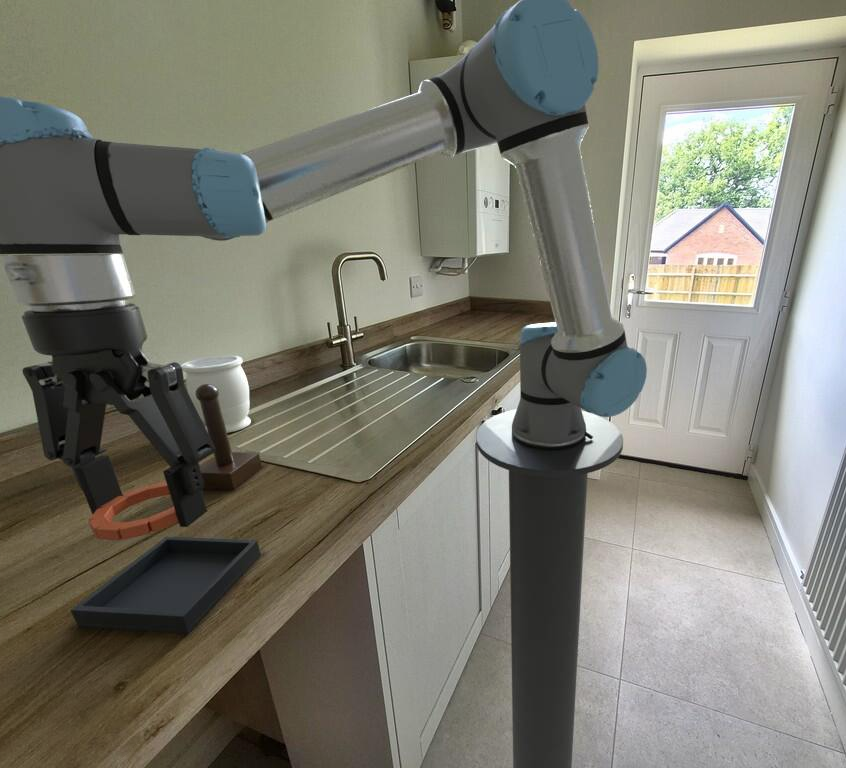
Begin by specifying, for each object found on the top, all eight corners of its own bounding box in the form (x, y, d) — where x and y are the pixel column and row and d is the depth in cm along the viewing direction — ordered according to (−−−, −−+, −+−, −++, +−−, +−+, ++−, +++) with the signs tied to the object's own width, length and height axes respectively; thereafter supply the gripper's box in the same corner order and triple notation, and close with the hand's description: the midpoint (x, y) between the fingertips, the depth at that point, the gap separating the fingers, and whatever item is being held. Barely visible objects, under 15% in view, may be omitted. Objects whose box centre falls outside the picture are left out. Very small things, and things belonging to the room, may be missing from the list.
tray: (261, 555, 52) (257, 540, 51) (188, 633, 41) (182, 616, 41) (171, 550, 53) (166, 536, 52) (77, 627, 42) (69, 610, 41)
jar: (266, 417, 94) (253, 354, 90) (236, 437, 84) (219, 367, 80) (222, 417, 95) (206, 354, 90) (186, 437, 85) (166, 367, 80)
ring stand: (262, 467, 73) (241, 378, 67) (234, 489, 66) (208, 392, 61) (225, 466, 73) (201, 377, 68) (193, 488, 66) (164, 391, 61)
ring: (220, 490, 47) (218, 481, 47) (152, 542, 39) (148, 531, 39) (150, 488, 48) (147, 479, 48) (67, 538, 40) (63, 527, 39)
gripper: (-86, 310, 34) (18, 535, 41) (156, 311, 32) (221, 545, 40) (23, 299, 41) (96, 493, 48) (225, 300, 40) (270, 500, 47)
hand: (152, 516), depth 44 cm, fingers closed on ring, 9 cm apart
